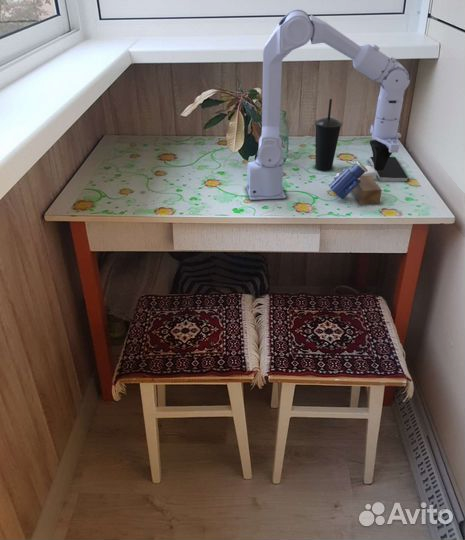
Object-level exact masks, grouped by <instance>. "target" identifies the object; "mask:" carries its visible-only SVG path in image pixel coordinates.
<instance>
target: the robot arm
mask: <svg viewBox="0 0 465 540" xmlns="http://www.w3.org/2000/svg"><path fill="white" fill-rule="evenodd" d="M309 42H310V43H311V45H317V44H325V45H327V46H329V47H330V48H332V49H334V50H335V51H337V52H339V53H341V54H342V55H344V56H345V57H347V58H349V59H350V60H352V66H353V68H354V69H355V70H357V71H358V72H360V73H362V74H363V75H365V76H366V77H368V78H369V79H370V80H372V81H374V82H375V83H379V84H380V89H379V95H378V97H377V102H376V103H377V104H376V110H375V115H374V123H373V124H371V125H370V131H369V133H370V134H371V138H372V139H373V140H372V139H371V140H369V145H370V148H371V151H372V157H373V163H374V169H375V170H376V171H377V170H384V168H385V165H386V163H387V161H388V159H389V157H391V155H392V154H394V153H399V149H400V144H399V142H398V139H400V138H402V133H400V132H398V130H399V125H400V119H401V115H402V114H401V113H402V110H403V109H402V108H403V102H404V95H405V91H406V90H407V88H408V87H409V85H410V82H411V80H410V74H409V72H408V70H407V69H406V68H405V66H404V65H402V64H401V63H400V61H399V60H397V59H396V58H395V57H393V56H391V57H389V56H388V55H386V54H385V53H383V52H382V51H380V47H379V46H378V45H376V44H374V43H373V45H371V44H369V43H368V44H364V45H359V44H357V43H356V42H355V41H354V40H352V39H350V38H349V37H347V36H346V35H345V34H343V33H342V32H341V31H339V30H338V29H336V28H335V27H334V26H332V25H331V24H330V23H328V22H326V21H324V20H323V19H320V18H318V17H317V16H314V15H312V14H310V15H309V14H308V13H307V12H306V11H304V10H303V9H293V10H291V11H289V12H288V13H287V14H286V15H284V16H283V17H282V18H281V19H280V20H279V21H278V23H277V25H276V27H275V28H274V30H273V31H272V33H271V35H270V36H269V37H268V39H267V41H266V42H265V44H264V46H263V51H262V92H261V93H262V97H261V98H262V99H261V101H262V102H261V134H260V136H259V138H258V150H257V153H256V155H257V156H256V158H255V160H254V161H249V162H247V164H246V166H247V167H246V191H247V194H248V196H249V197H248V198H249V200H250V201H257V200H259V201H260V200H278V199H279V200H281V199H286V198H287V196H286V194H285V193H286V192H285V191H284V189H283V184H284V183H283V181H284V164H285V163H284V161H285V159H284V158H283V156H284V153H283V144H284V142H283V141H284V140H283V137H282V135H281V132H280V131H281V130H280V129H281V102H282V79H283V78H282V77H283V76H282V75H283V74H282V73H283V60H284V59H285V58H286V57H287V56H288V55H289V54H290V53H292V52H293V51H294V50H296V49H299V48H301V47H303V46H305V45H306V44H308V43H309Z"/></svg>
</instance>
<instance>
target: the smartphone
mask: <svg viewBox="0 0 465 540" xmlns="http://www.w3.org/2000/svg"><path fill="white" fill-rule="evenodd" d="M368 160H369V163H370V166H371V167H373V168H374V163H373V156H370V157H369V159H368ZM375 171H376V170H375ZM376 177H377V178H378V180H379V182H408V178H409V177H408V175H407V174H406V172H405V170H404V169H403V167H402V165H401V163H400V162H399V160H398V159H397V158H396V157H395V156H390V157H389V159H388V161H387V163H386V165H385V168H384V170H377V171H376Z"/></svg>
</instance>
